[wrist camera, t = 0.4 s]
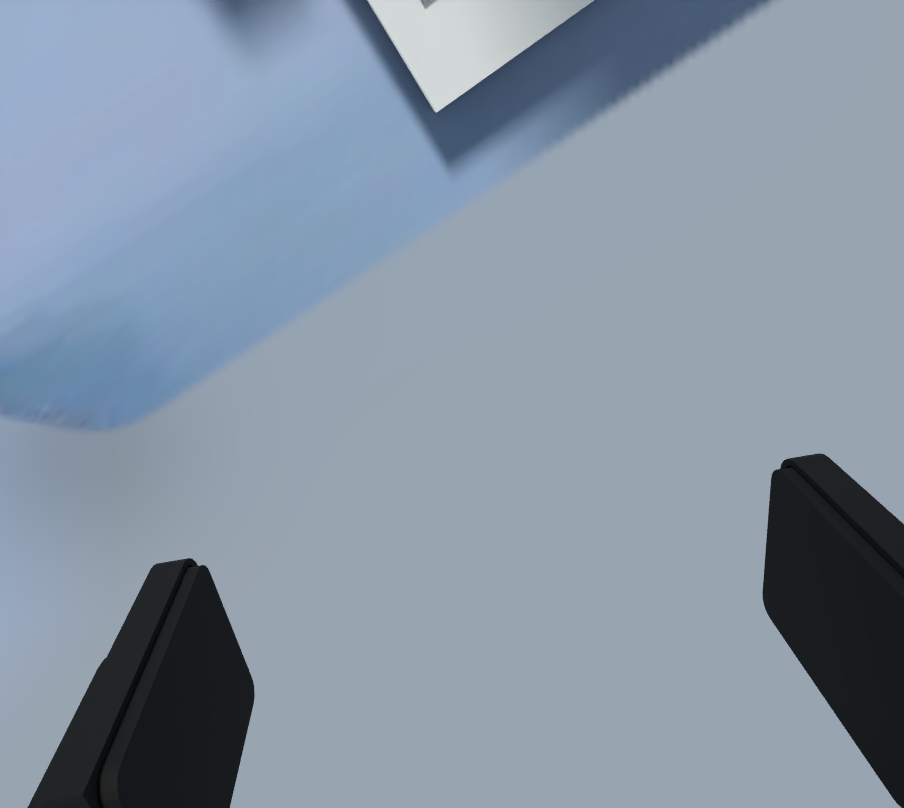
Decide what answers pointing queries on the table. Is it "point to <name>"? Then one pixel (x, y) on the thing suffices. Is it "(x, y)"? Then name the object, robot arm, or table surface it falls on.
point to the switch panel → (465, 37)
